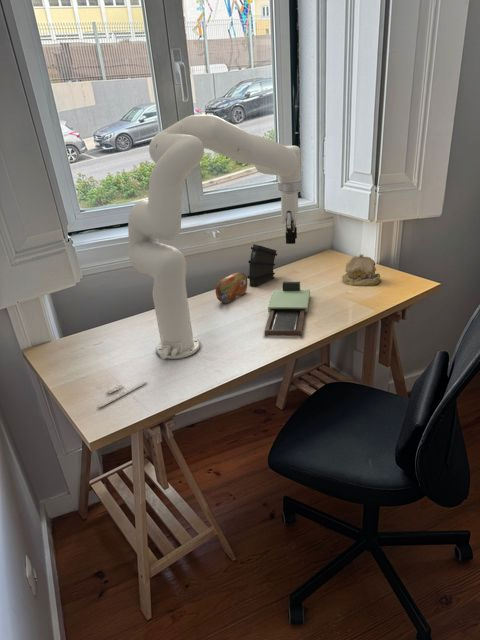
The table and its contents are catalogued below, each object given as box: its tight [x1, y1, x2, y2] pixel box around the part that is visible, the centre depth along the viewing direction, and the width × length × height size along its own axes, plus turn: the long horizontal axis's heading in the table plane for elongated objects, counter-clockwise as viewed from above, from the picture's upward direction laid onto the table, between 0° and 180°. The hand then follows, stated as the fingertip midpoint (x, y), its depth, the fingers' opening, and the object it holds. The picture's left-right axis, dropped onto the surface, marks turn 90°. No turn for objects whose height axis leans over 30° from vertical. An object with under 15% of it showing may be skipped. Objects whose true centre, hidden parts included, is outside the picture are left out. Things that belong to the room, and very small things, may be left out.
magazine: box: [247, 243, 278, 287], centre depth 190 cm, size 4×13×15 cm, turn 137°
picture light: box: [98, 382, 145, 408], centre depth 129 cm, size 14×4×2 cm, turn 138°
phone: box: [272, 312, 299, 330], centre depth 158 cm, size 14×7×1 cm, turn 172°
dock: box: [264, 309, 306, 337], centre depth 164 cm, size 30×11×2 cm, turn 172°
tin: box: [215, 272, 248, 304], centre depth 178 cm, size 15×3×8 cm, turn 143°
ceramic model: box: [343, 254, 381, 286], centre depth 185 cm, size 14×11×10 cm
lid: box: [267, 281, 311, 313], centre depth 169 cm, size 15×13×5 cm
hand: (291, 240), depth 172 cm, fingers open, 4 cm apart
